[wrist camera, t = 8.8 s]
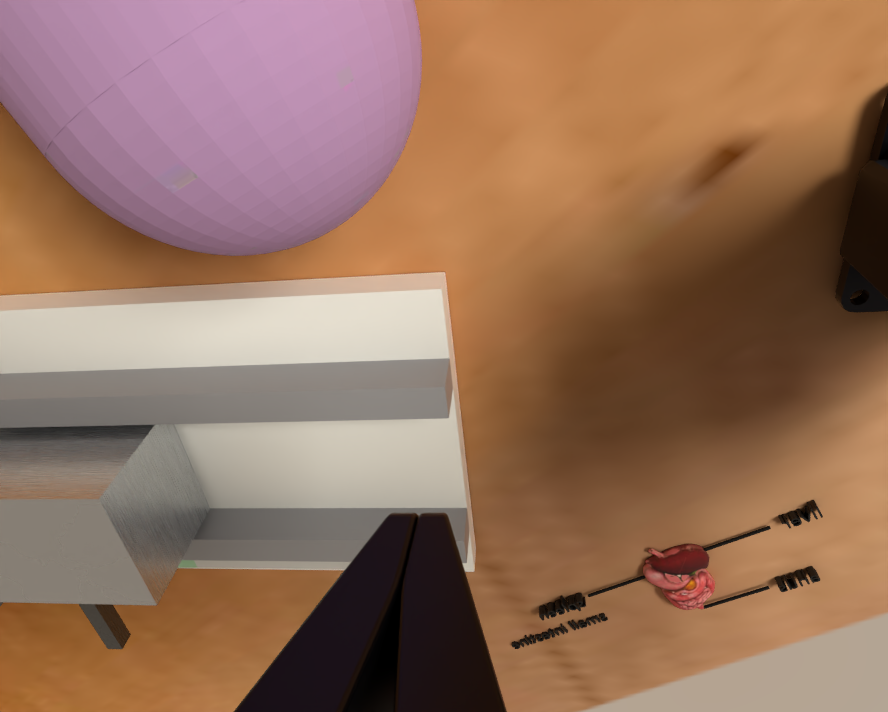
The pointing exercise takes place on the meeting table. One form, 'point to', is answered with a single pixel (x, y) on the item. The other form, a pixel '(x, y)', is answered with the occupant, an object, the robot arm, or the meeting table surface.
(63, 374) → the gauge bed
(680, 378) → the meeting table surface
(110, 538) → the brushed metal block
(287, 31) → the toy
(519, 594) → the meeting table surface
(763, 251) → the meeting table surface
